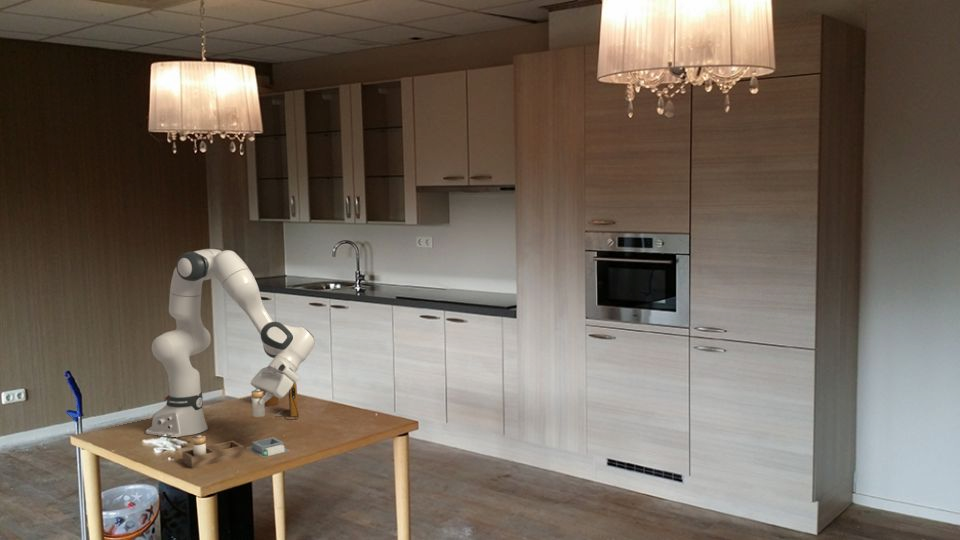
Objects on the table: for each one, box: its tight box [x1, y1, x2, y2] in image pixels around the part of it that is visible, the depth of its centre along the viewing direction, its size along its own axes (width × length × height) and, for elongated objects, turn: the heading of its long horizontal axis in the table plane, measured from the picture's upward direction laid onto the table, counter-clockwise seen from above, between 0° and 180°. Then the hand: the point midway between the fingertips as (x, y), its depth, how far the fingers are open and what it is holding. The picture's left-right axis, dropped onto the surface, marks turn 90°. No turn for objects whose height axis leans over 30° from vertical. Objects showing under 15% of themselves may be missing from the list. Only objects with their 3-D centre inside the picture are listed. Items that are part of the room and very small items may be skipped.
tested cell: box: [251, 388, 266, 418], centre depth 288 cm, size 4×4×9 cm
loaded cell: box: [192, 434, 207, 456], centre depth 278 cm, size 4×4×9 cm
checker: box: [246, 436, 291, 458], centre depth 290 cm, size 10×14×4 cm
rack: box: [182, 440, 245, 469], centre depth 282 cm, size 18×8×4 cm, turn 129°
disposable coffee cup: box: [264, 392, 280, 407], centre depth 353 cm, size 10×10×12 cm
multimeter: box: [274, 382, 299, 421], centre depth 334 cm, size 15×10×20 cm
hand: (256, 402), depth 288 cm, fingers closed on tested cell, 4 cm apart
